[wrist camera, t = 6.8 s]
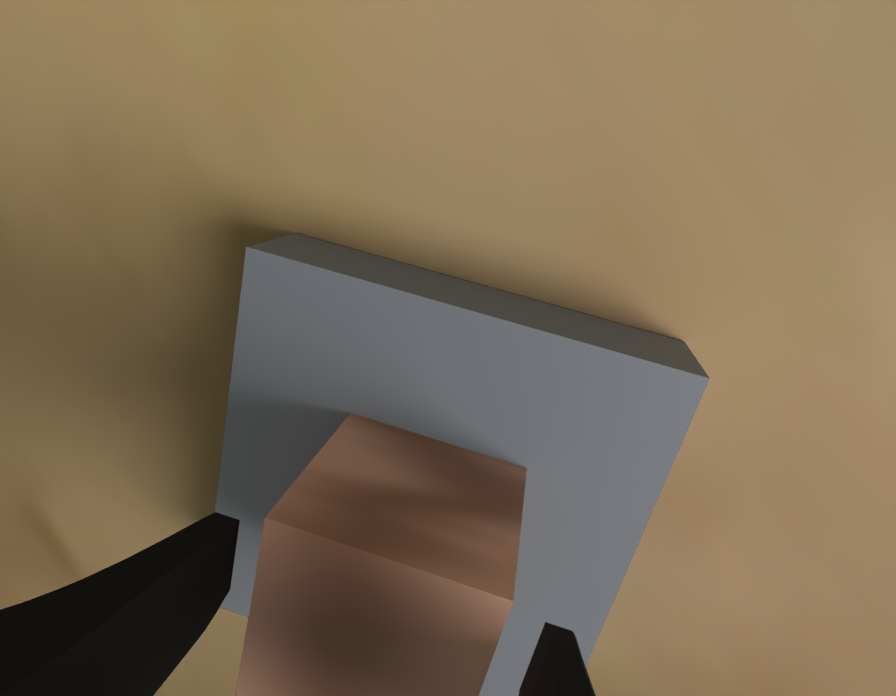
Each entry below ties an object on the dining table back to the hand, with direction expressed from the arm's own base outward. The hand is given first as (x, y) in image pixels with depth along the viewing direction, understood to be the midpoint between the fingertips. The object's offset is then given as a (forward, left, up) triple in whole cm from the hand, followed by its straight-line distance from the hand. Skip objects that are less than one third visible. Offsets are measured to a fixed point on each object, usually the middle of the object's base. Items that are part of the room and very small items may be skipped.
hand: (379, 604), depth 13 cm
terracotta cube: (0, 0, -4) cm, 4 cm away
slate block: (0, 0, -7) cm, 7 cm away
